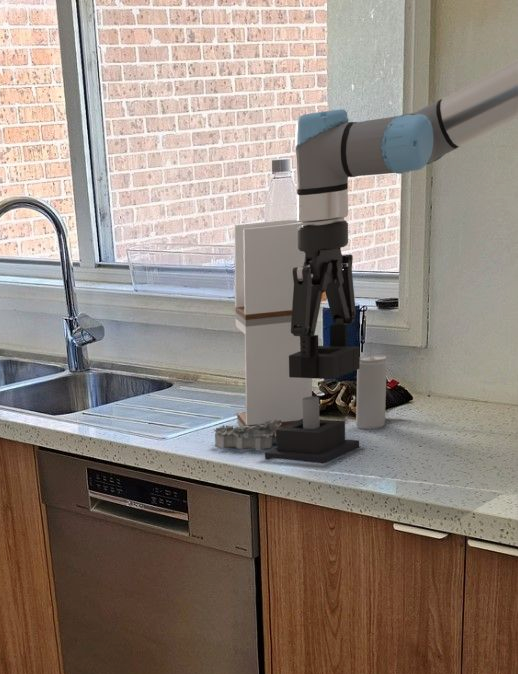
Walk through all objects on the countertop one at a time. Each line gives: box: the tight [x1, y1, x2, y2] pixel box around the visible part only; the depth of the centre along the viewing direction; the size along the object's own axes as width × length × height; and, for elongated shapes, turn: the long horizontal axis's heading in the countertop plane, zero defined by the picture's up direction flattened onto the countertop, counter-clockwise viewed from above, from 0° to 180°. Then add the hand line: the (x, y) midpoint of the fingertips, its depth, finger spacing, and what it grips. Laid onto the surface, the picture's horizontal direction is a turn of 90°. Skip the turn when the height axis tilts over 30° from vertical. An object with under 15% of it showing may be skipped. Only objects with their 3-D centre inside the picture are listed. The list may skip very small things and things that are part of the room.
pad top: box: [289, 345, 361, 380], centre depth 195 cm, size 8×8×4 cm
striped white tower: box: [233, 218, 313, 429], centre depth 215 cm, size 11×11×35 cm
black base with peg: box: [264, 395, 360, 464], centre depth 199 cm, size 11×11×10 cm
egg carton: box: [213, 420, 282, 451], centre depth 211 cm, size 11×8×4 cm
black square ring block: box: [275, 419, 346, 454], centre depth 200 cm, size 8×8×4 cm
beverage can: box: [355, 354, 388, 430], centre depth 210 cm, size 5×5×12 cm
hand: (324, 371), depth 195 cm, fingers closed on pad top, 8 cm apart
